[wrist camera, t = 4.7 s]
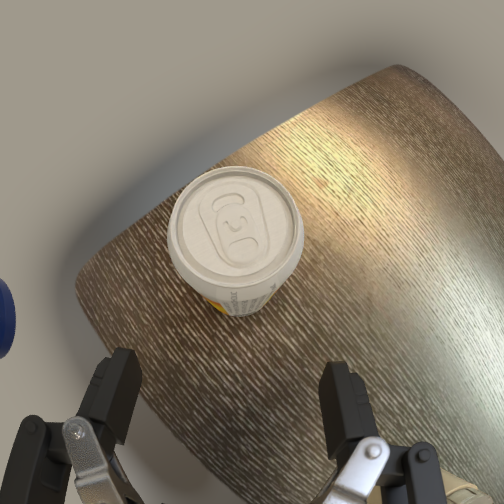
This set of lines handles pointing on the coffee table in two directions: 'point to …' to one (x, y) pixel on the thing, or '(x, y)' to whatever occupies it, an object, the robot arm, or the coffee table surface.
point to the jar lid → (469, 497)
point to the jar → (449, 480)
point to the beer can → (235, 238)
